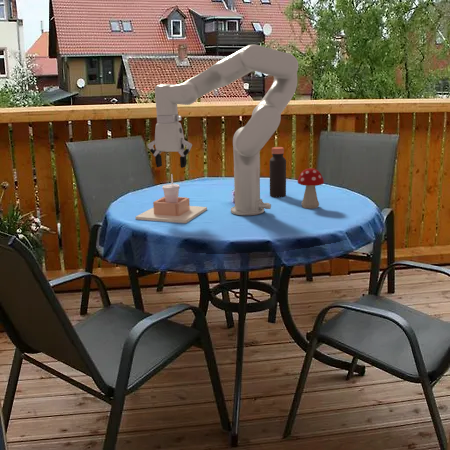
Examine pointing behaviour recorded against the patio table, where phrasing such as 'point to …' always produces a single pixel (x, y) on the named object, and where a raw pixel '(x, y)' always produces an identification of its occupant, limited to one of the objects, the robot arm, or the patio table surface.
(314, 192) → the decorative mushroom
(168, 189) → the smoothie
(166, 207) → the open brown bin
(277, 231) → the patio table surface
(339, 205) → the patio table surface
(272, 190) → the vinegar
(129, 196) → the patio table surface
